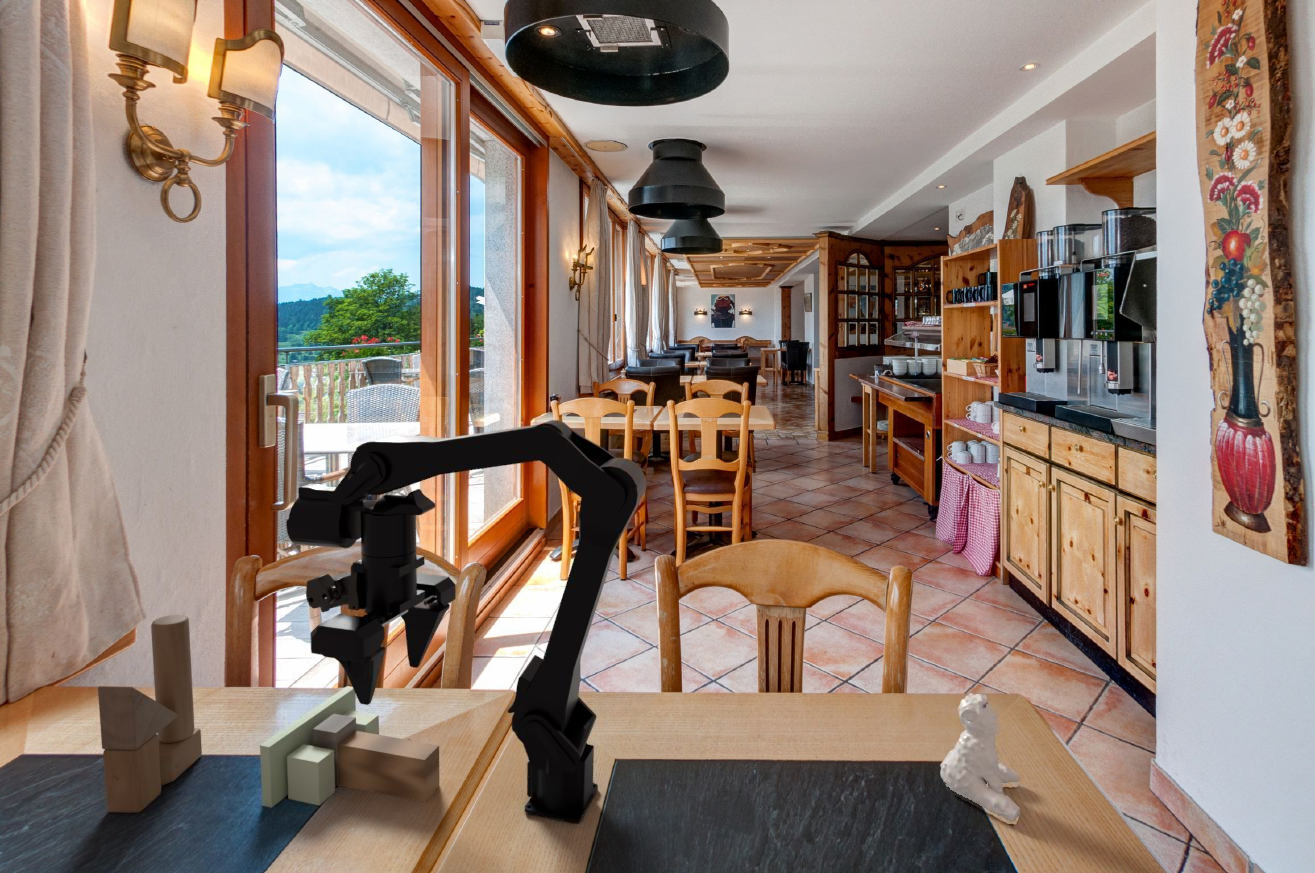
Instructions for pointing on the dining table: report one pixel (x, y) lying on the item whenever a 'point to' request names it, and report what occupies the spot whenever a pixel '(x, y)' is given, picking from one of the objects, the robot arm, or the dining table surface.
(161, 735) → the wooden block
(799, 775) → the dining table surface
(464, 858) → the dining table surface
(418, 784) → the hammer
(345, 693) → the pale green slab
